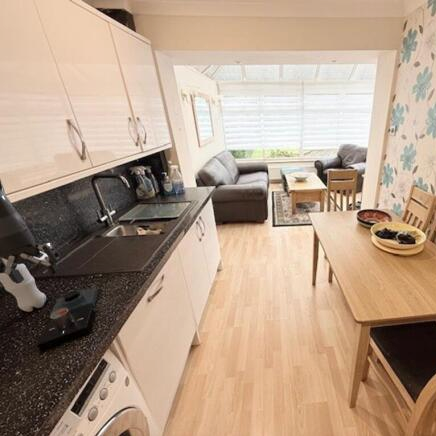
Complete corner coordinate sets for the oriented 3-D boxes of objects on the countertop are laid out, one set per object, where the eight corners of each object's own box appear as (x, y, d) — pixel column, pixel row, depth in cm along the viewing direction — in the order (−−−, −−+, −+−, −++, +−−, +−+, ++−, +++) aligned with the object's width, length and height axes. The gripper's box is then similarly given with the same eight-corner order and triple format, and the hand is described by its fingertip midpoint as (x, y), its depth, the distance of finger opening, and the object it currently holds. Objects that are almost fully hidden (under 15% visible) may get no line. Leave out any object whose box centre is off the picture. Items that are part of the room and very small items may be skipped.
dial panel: (41, 351, 72) (36, 344, 71) (52, 327, 80) (47, 321, 79) (90, 333, 77) (85, 326, 76) (95, 312, 85) (91, 306, 84)
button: (64, 303, 86) (62, 299, 85) (67, 296, 89) (65, 292, 88) (78, 298, 87) (76, 295, 87) (80, 292, 91) (78, 288, 90)
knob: (55, 332, 75) (47, 320, 73) (59, 322, 78) (51, 310, 76) (73, 326, 77) (65, 314, 74) (76, 316, 80) (69, 305, 78)
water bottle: (39, 298, 94) (2, 244, 83) (53, 300, 93) (17, 245, 82) (17, 312, 88) (-26, 256, 77) (32, 314, 86) (-10, 258, 76)
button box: (52, 321, 83) (46, 312, 81) (60, 302, 91) (55, 294, 89) (94, 306, 88) (89, 298, 86) (98, 290, 96) (94, 283, 94)
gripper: (-40, 243, 59) (-1, 292, 66) (30, 231, 63) (60, 279, 70) (-16, 230, 66) (17, 276, 73) (47, 220, 69) (72, 265, 76)
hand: (38, 277), depth 71 cm, fingers open, 8 cm apart
